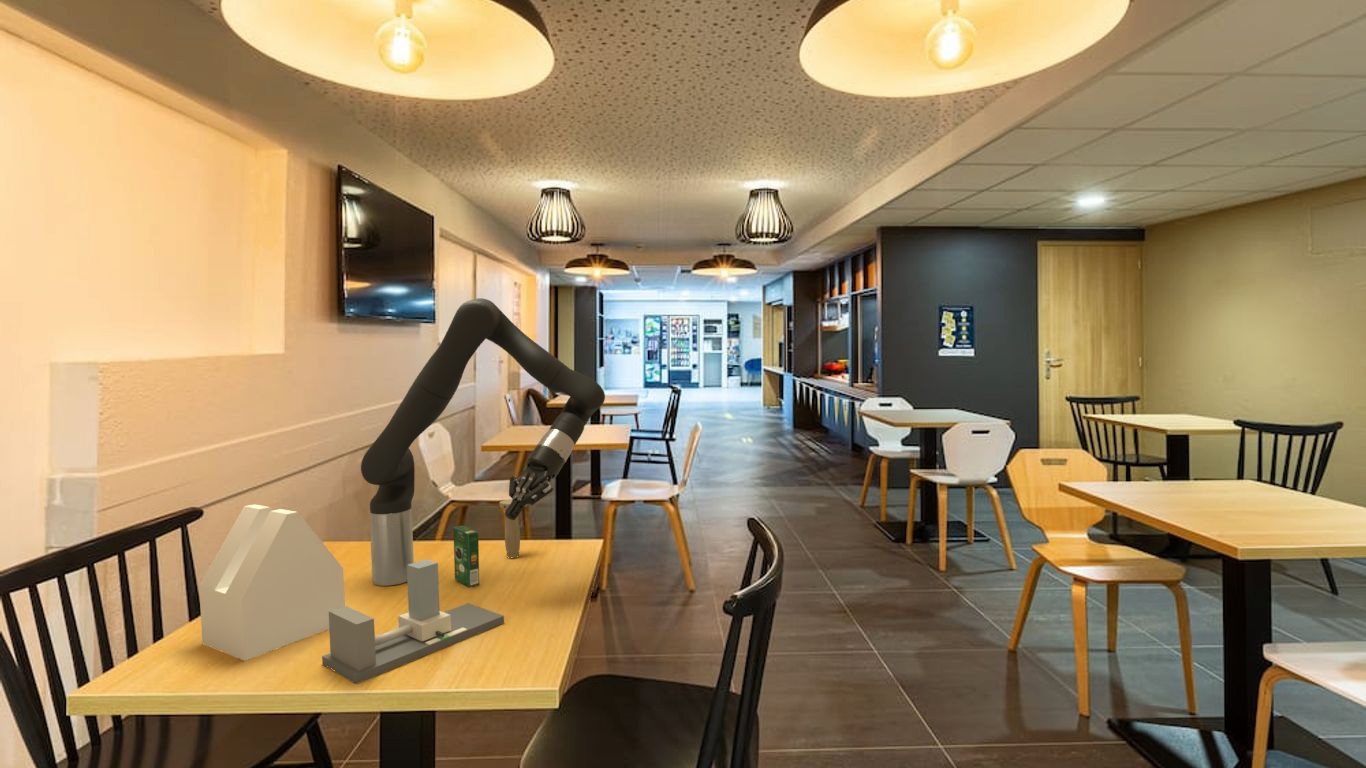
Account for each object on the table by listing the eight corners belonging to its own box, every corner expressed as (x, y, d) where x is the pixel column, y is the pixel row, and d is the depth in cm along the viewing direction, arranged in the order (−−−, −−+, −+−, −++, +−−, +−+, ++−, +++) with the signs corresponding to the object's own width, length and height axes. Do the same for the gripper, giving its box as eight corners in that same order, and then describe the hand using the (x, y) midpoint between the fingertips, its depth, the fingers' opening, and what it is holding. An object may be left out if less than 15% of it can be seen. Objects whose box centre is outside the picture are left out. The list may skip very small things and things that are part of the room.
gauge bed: (322, 664, 117) (320, 611, 116) (468, 609, 141) (467, 566, 140) (355, 683, 109) (353, 627, 109) (504, 622, 133) (502, 576, 133)
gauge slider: (357, 646, 120) (354, 576, 119) (427, 620, 131) (425, 556, 130) (386, 661, 114) (382, 587, 113) (457, 632, 125) (454, 565, 124)
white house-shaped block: (245, 661, 119) (237, 524, 118) (202, 644, 126) (195, 515, 125) (345, 623, 135) (340, 502, 134) (302, 609, 143) (297, 495, 142)
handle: (515, 561, 173) (513, 505, 173) (497, 558, 176) (495, 502, 176) (528, 556, 177) (526, 501, 177) (510, 553, 181) (508, 499, 180)
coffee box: (481, 585, 156) (479, 530, 155) (469, 588, 154) (467, 533, 153) (465, 577, 162) (463, 524, 161) (454, 580, 160) (452, 526, 159)
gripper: (522, 441, 153) (479, 503, 144) (561, 445, 145) (518, 512, 135) (541, 460, 157) (500, 522, 148) (580, 465, 149) (539, 531, 140)
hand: (509, 517), depth 142 cm, fingers closed
